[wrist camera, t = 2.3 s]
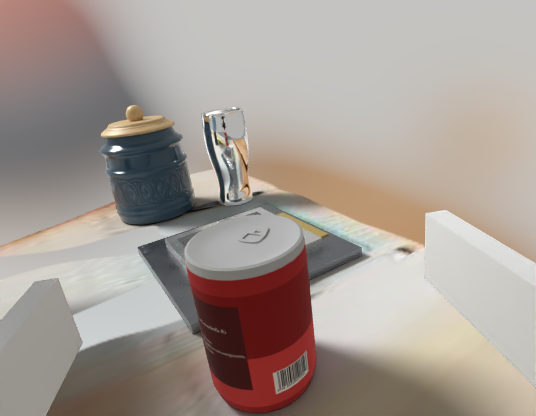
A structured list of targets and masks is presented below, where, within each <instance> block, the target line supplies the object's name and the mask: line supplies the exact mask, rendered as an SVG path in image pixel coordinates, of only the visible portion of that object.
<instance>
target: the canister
mask: <svg viewBox="0 0 536 416" xmlns="http://www.w3.org/2000/svg"><path fill="white" fill-rule="evenodd" d="M126 116H127V119H128V120H123V121H119V122H115V123H112V124H110V125H109V126H108V128H107V129H106V130H105V131H103V132H102V133H101V136H102V137H104V138H105V144H104V145H103V146H102V147H101V148H100V150H99V152H100V153H101V154H102V155H104V156H105V158H106V163H107V168H106V170H105V172H106V174H107V175H108V178H109V182H110V185H111V189H112V192H113V195H114V199H115V202H116V209H117V213H118V214H119V216H120V218H121V220H122V221H123V222H125V223H128V224H150V223H156V222H161V221H165V220H168V219H172V218H174V217H177V216H179V215H182V214H184V213H185V212H187V211H189V210H190V209H191V208H192V207H193V206H194V204H195V201H194V198H195V194H194V189H193V188H192V185H191V180H190V175H189V170H188V166H187V161H186V159H187V156H186V155H185V154H184V153H183V150H182V147H181V140H182V138H183V137H182V135H181V134H179V133H177V132H175V131H174V129H173V128H172V126H173V125H174V122H173V121H171V120H168V119H166V118H165V117H164V116H148V117H144V113H143V110H142V109H141V108H140V107H139V106H137V105H132V106H129V107H128V108H127V110H126Z"/></svg>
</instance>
